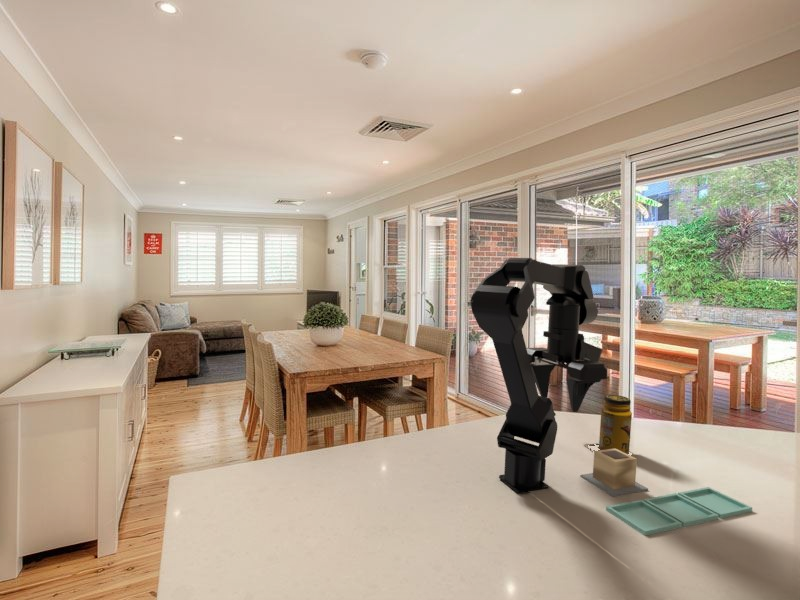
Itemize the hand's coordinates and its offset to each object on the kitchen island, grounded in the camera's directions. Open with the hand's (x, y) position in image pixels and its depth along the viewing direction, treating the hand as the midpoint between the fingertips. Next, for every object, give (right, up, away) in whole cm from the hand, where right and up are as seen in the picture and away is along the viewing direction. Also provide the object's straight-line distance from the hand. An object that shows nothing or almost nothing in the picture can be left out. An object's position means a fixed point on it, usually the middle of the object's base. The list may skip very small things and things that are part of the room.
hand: (559, 404), depth 93 cm
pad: (+7, -13, -8) cm, 17 cm away
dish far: (+21, -14, -15) cm, 29 cm away
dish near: (+6, -14, -20) cm, 25 cm away
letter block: (+7, -12, -8) cm, 16 cm away
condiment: (+14, -12, +8) cm, 20 cm away
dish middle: (+14, -14, -17) cm, 26 cm away
